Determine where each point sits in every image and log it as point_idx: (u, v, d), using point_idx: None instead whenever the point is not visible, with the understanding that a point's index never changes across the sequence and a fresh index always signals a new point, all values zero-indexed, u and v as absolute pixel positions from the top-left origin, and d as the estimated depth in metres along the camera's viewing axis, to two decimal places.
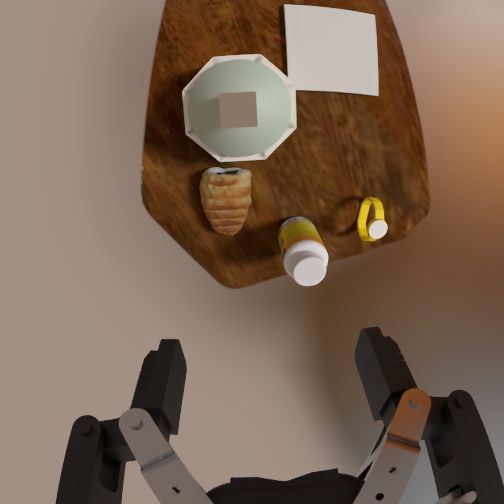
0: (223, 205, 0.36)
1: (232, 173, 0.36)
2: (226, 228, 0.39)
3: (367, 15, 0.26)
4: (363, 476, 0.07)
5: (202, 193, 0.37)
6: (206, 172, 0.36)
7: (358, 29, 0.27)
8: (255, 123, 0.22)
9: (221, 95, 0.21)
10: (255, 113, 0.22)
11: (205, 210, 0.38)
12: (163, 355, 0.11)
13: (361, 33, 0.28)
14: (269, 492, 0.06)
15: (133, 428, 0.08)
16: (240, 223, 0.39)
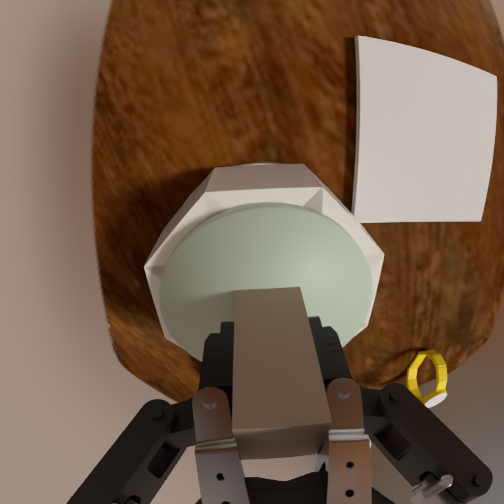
0: None
1: None
2: None
3: (488, 76, 0.13)
4: None
5: None
6: None
7: (475, 103, 0.14)
8: (315, 451, 0.09)
9: (240, 431, 0.08)
10: (319, 443, 0.09)
11: None
12: (226, 336, 0.12)
13: (479, 111, 0.14)
14: (269, 492, 0.06)
15: (210, 407, 0.09)
16: None
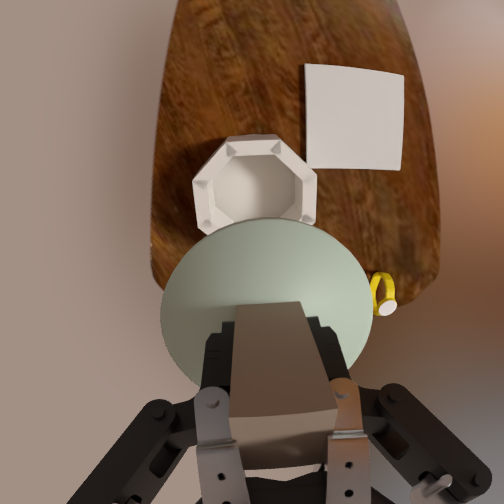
0: None
1: None
2: None
3: (396, 76, 0.26)
4: None
5: None
6: None
7: (385, 94, 0.27)
8: None
9: (237, 421, 0.07)
10: None
11: None
12: (228, 336, 0.12)
13: (388, 99, 0.28)
14: (269, 492, 0.06)
15: (211, 407, 0.09)
16: None
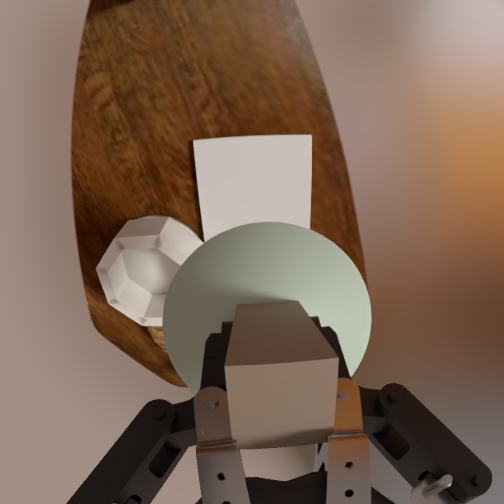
0: None
1: None
2: None
3: (301, 137, 0.28)
4: None
5: (150, 332, 0.39)
6: None
7: (287, 161, 0.29)
8: None
9: (234, 371, 0.07)
10: (330, 414, 0.07)
11: (156, 343, 0.40)
12: (227, 336, 0.12)
13: (291, 166, 0.30)
14: (269, 492, 0.06)
15: (211, 407, 0.09)
16: None
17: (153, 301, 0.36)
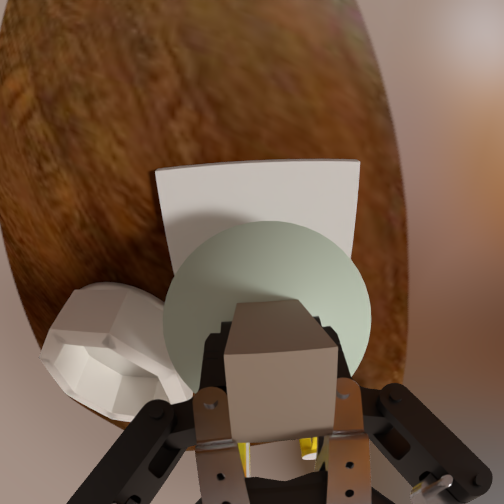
0: None
1: None
2: None
3: (343, 166, 0.16)
4: None
5: None
6: None
7: (317, 205, 0.17)
8: (328, 428, 0.07)
9: (233, 360, 0.07)
10: (331, 406, 0.07)
11: None
12: (227, 336, 0.12)
13: (324, 214, 0.18)
14: (269, 492, 0.06)
15: (210, 407, 0.09)
16: None
17: (124, 387, 0.24)
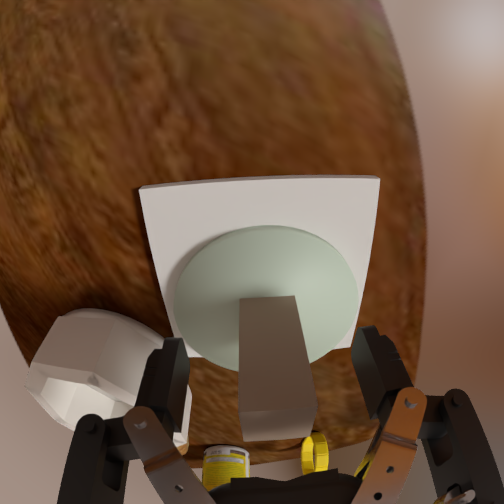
0: None
1: None
2: None
3: (360, 183, 0.14)
4: (360, 475, 0.07)
5: None
6: None
7: (330, 229, 0.15)
8: (306, 434, 0.11)
9: (245, 413, 0.10)
10: (309, 426, 0.11)
11: None
12: (167, 353, 0.11)
13: (337, 239, 0.15)
14: (269, 492, 0.06)
15: (138, 426, 0.08)
16: (182, 454, 0.26)
17: (116, 414, 0.21)
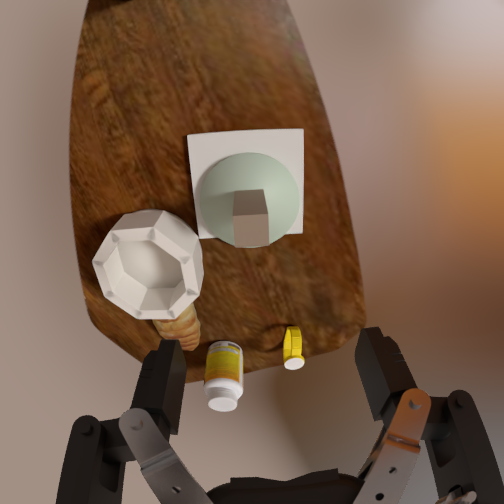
0: (174, 336, 0.38)
1: None
2: (184, 348, 0.41)
3: (293, 131, 0.28)
4: (363, 476, 0.07)
5: (155, 325, 0.39)
6: None
7: (279, 154, 0.30)
8: (267, 242, 0.26)
9: (235, 217, 0.25)
10: (267, 234, 0.26)
11: (162, 336, 0.40)
12: (163, 355, 0.11)
13: (283, 160, 0.30)
14: (269, 492, 0.06)
15: (133, 428, 0.08)
16: (195, 343, 0.41)
17: (148, 295, 0.36)
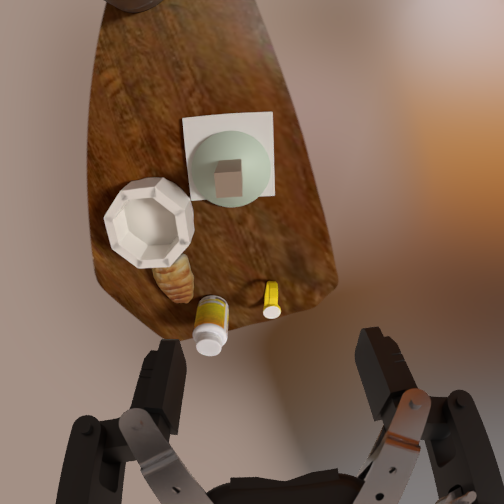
0: (171, 286, 0.46)
1: None
2: (180, 299, 0.48)
3: (264, 114, 0.36)
4: (363, 476, 0.07)
5: (155, 278, 0.47)
6: None
7: (254, 132, 0.37)
8: (240, 194, 0.33)
9: (216, 174, 0.32)
10: (240, 187, 0.33)
11: (161, 289, 0.48)
12: (163, 355, 0.11)
13: (257, 136, 0.37)
14: (269, 492, 0.06)
15: (133, 428, 0.08)
16: (189, 295, 0.48)
17: (148, 249, 0.43)
